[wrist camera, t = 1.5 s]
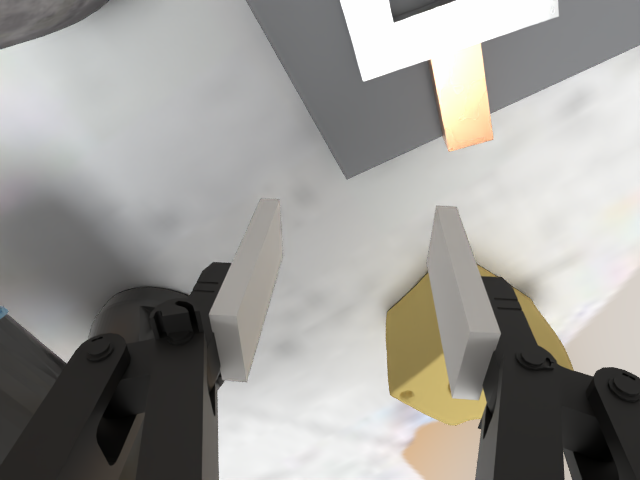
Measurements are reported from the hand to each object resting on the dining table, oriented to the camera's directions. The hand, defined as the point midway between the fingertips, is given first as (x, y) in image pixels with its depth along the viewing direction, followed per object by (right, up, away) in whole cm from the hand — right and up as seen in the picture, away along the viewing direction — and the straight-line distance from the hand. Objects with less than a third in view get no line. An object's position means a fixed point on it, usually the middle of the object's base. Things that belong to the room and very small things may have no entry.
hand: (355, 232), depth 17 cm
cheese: (+12, -6, +24) cm, 27 cm away
